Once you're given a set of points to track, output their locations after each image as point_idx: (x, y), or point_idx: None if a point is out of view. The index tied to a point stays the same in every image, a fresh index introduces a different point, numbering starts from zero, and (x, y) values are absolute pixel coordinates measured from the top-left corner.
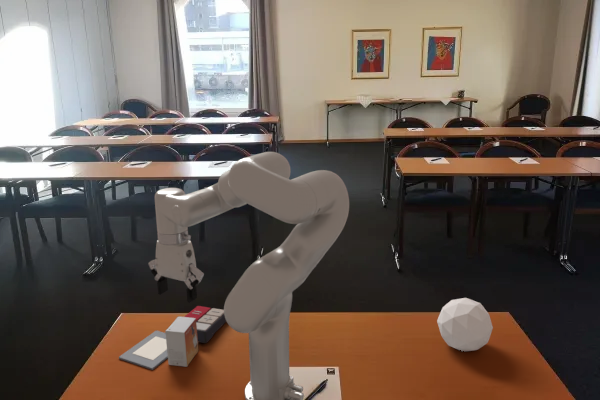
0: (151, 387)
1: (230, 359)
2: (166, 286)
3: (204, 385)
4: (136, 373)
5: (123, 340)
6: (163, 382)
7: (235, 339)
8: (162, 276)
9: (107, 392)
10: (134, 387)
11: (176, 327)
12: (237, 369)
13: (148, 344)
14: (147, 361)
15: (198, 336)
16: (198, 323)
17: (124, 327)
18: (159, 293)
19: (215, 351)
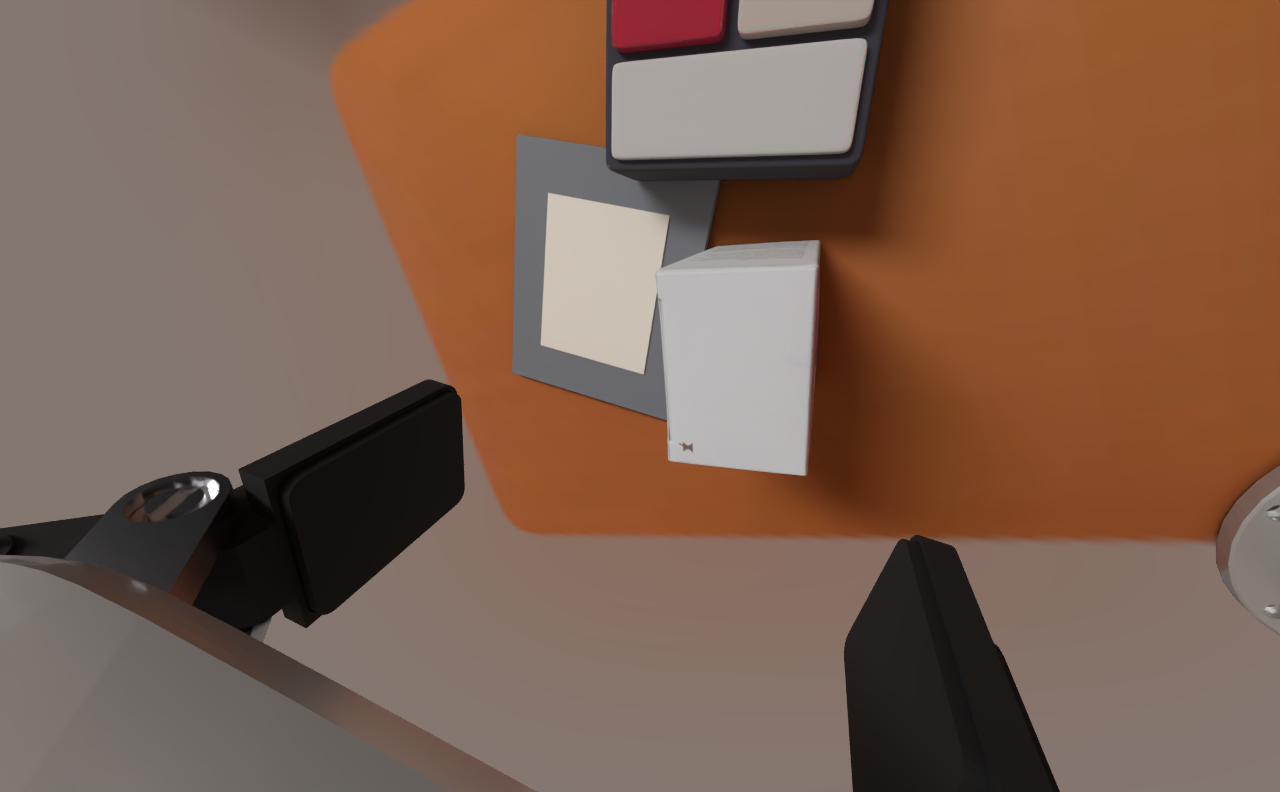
0: (721, 505)
1: (1065, 275)
2: (415, 435)
3: (947, 489)
4: (626, 439)
5: (448, 250)
6: (752, 479)
7: (1070, 17)
8: (225, 582)
9: (600, 528)
10: (664, 506)
11: (720, 422)
12: (1135, 360)
13: (559, 270)
14: (627, 383)
15: (797, 174)
16: (757, 65)
17: (381, 149)
18: (445, 507)
19: (932, 218)
